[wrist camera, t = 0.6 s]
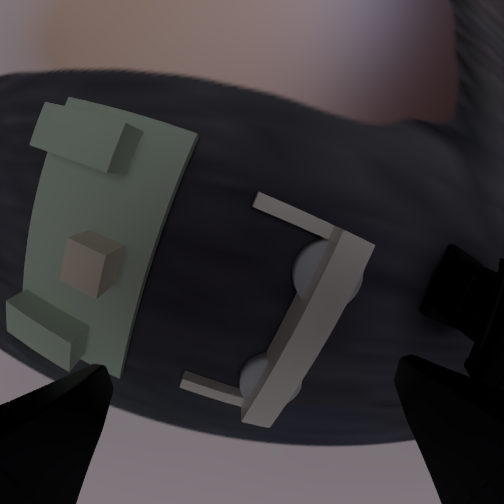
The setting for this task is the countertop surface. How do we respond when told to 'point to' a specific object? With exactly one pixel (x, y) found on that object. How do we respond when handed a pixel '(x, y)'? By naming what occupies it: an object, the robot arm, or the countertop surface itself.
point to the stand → (94, 229)
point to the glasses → (295, 318)
